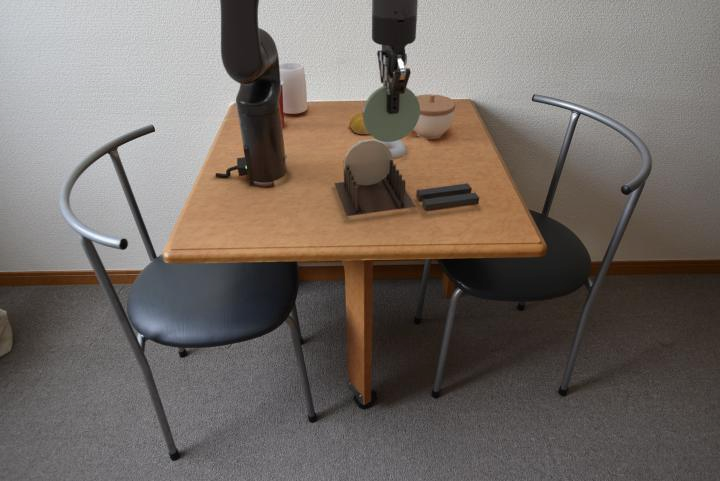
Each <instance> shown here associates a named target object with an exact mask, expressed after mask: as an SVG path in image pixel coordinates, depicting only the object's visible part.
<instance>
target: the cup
mask: <svg viewBox="0 0 720 481" xmlns="http://www.w3.org/2000/svg"><path fill="white" fill-rule="evenodd" d="M279 68H280V77H281V79H282V81H283V84H282V90H283V110H284V114H289V115H290V114H292V115H294V114H301V113H304V112H306V111H307V110H308V95H307V94H308V93H307V80H306V73H305V66H304V64H303V63H301V62H296V61H287V62H286V61H285V62H282V63H279Z"/></svg>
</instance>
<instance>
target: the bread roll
mask: <svg viewBox="0 0 720 481" xmlns="http://www.w3.org/2000/svg"><path fill="white" fill-rule="evenodd" d="M348 125H349V128H350V129H351V130H352V131H353V132H354V133H355V134H358V135H370V134H369V132H368V131H367V129H366V128H365V125H364V122H363V112H360V113H359V112H358V113H356V114H354V115H353V116H352V117H351V118H350V119H349V122H348Z"/></svg>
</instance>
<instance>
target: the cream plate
mask: <svg viewBox="0 0 720 481" xmlns="http://www.w3.org/2000/svg"><path fill="white" fill-rule="evenodd" d="M390 149H391V148H388V146H387V145H386V144H385V143H383V142H381V141H379V140H377V139H375V138H365V139H361V140H359V141H357V142H355V143H354V144H353V145H351V147H350V148H349V149H348V150H347V152H346V154H345V156H344V159H343V161H344V166H343V171H344V170H345V172H346V165H349V170H351V175H353V176H354V180H356V184H359V185H365V186H366V185H373V184H376V183H378V182H380V181H381V180H383V179H384V178H385V177H386V176H387V175H388V173H389V170H390V160H393V161H394V159H393V157H392V153H391V151H390Z"/></svg>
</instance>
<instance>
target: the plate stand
mask: <svg viewBox="0 0 720 481" xmlns="http://www.w3.org/2000/svg"><path fill="white" fill-rule="evenodd" d="M472 190H473V188H472V186H471V185H470V184H469V183H461V184H453V185H445V186H437V187H429V188H422V189H416V192H415V193H416V194H415V197H416V198H417V200H418V201H419V202H422V205H421V207H422V208H423V210H424V211H425V212H429V211H436V210H443V209H451V208H458V207H464V206H465V207H466V206H473V205H478V204H479V203H480V196H479V195H478V194H477V192H472Z"/></svg>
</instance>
